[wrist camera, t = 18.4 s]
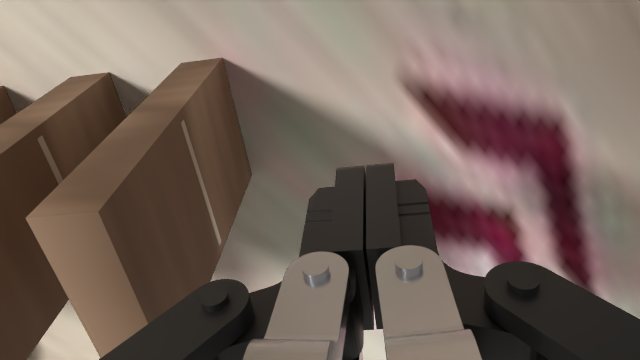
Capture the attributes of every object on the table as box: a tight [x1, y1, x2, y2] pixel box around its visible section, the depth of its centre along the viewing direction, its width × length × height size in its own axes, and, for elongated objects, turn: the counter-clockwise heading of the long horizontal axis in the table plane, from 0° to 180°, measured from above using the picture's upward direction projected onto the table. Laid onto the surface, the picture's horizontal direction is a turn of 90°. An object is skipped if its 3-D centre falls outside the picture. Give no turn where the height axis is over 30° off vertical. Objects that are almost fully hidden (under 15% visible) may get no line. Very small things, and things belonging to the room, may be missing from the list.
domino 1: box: [0, 72, 126, 360], centre depth 16 cm, size 2×5×10 cm, turn 8°
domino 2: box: [26, 58, 252, 358], centre depth 16 cm, size 2×5×10 cm, turn 8°
